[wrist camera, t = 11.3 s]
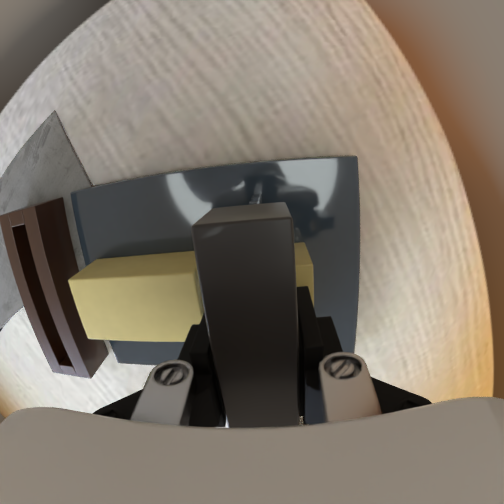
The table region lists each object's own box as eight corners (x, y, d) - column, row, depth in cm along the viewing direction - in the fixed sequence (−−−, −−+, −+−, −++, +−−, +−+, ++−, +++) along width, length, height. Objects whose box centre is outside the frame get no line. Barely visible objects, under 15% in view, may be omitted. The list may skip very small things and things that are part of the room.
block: (71, 350, 20) (52, 372, 17) (27, 206, 16) (-2, 216, 14) (108, 353, 20) (91, 378, 17) (64, 196, 16) (34, 205, 13)
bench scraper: (252, 356, 17) (240, 478, 9) (233, 190, 15) (189, 225, 6) (289, 354, 17) (298, 476, 9) (278, 186, 15) (292, 216, 6)
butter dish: (121, 356, 20) (117, 363, 19) (76, 190, 16) (69, 192, 15) (351, 349, 18) (354, 356, 18) (353, 155, 15) (358, 155, 14)
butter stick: (111, 312, 17) (87, 339, 14) (96, 258, 16) (67, 279, 13) (217, 309, 17) (207, 342, 14) (207, 249, 16) (193, 272, 13)
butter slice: (270, 307, 17) (270, 339, 14) (265, 244, 16) (264, 267, 13) (306, 304, 17) (314, 336, 14) (304, 241, 15) (313, 264, 12)
